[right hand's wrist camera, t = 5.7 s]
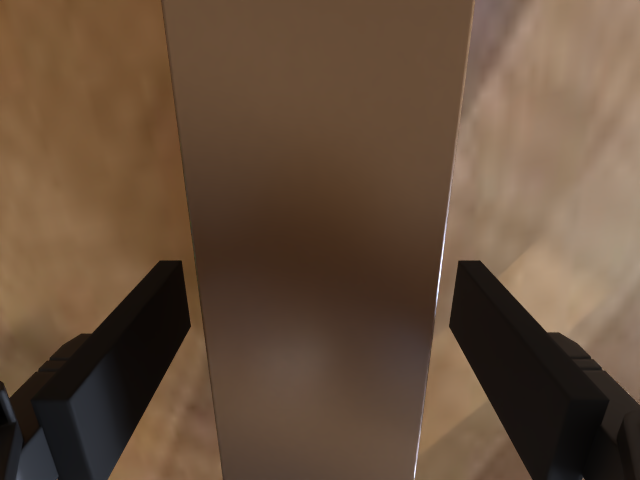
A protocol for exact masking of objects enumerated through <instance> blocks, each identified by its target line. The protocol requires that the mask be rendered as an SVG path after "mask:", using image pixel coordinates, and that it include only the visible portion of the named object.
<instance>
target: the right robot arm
mask: <svg viewBox="0 0 640 480" xmlns="http://www.w3.org/2000/svg"><path fill="white" fill-rule="evenodd" d="M190 327H191V324H190V317H189V310H188V303H187V296H186V289H185V282H184V275H183V268H182V261H159V262H158V263H157V264H156V265H155V267H154V268H153V269H152V270H151V271H150V272H149V273H148V274H147V275H146V276H145V277H144V278H143V279H142V280H141V282H140V283H139V284H138V285H137V286H136V287H135V288H134V289H133V290H132V291H131V292H130V293H129V294H128V296H127V297H126V298H125V299H124V300H123V301H122V302H121V303H120V304H119V305H118V306H117V307H116V308H115V309H114V311H113V312H112V313H111V314H110V315H109V316H108V317H107V318H106V319H105V320H104V321H103V322H102V323H101V325H100V326H99V327H98V328H97V329H96V330H95V331H94V332H93V333H92V334H80V335H79V336H77V337H75V338H74V339H72V340H70V341H69V342H67V343H65V344H64V345H62V346H61V347H60V348H59V349H58V350H57V351H56V352H55V353H54V354H53V355H52V356H51V357H50V360H49V361H46V362H45V363H44V364H43V365H42V366H41V367H40V368H39V371H38V372H35V373H34V374H33V375H32V376H31V377H30V378H29V379H28V380H27V381H26V382H25V383H24V384H23V385H22V386H21V387H20V388H19V389H18V390H17V391H16V392H15V393H14V394H13V395H12V396H11V397H10V398H9V397H8V394H7V391H6V389H5V386H4V383H3V382H1V381H0V480H57V478H58V480H108V478H109V476H110V474H111V472H112V470H113V469H114V467H115V465H116V463H117V461H118V459H119V458H120V456H121V454H122V452H123V450H124V448H125V447H126V445H127V443H128V441H129V439H130V437H131V436H132V434H133V432H134V430H135V428H136V426H137V424H138V423H139V421H140V419H141V417H142V415H143V413H144V412H145V410H146V408H147V406H148V404H149V402H150V401H151V399H152V397H153V395H154V393H155V391H156V390H157V388H158V386H159V384H160V382H161V380H162V379H163V377H164V375H165V373H166V371H167V369H168V367H169V366H170V364H171V362H172V360H173V358H174V356H175V355H176V353H177V351H178V349H179V347H180V345H181V344H182V342H183V340H184V338H185V336H186V334H187V333H188V331H189V329H190ZM449 327H450V329H451V331H452V333H453V334H454V336H455V338H456V340H457V342H458V344H459V345H460V347H461V349H462V351H463V353H464V355H465V356H466V358H467V360H468V362H469V364H470V366H471V367H472V369H473V371H474V373H475V375H476V377H477V379H478V380H479V382H480V384H481V386H482V388H483V390H484V391H485V393H486V395H487V397H488V399H489V401H490V402H491V404H492V406H493V408H494V410H495V412H496V413H497V415H498V417H499V419H500V421H501V423H502V425H503V426H504V428H505V430H506V432H507V434H508V436H509V437H510V439H511V441H512V443H513V445H514V447H515V448H516V450H517V452H518V454H519V456H520V458H521V459H522V461H523V463H524V465H525V467H526V469H527V470H528V472H529V474H530V476H531V478H532V480H582V478H584V479H585V480H640V405H639V404H638V403H637V402H636V401H635V400H634V399H633V398H632V397H631V396H630V395H629V394H628V393H627V392H626V391H625V390H624V389H623V388H622V387H621V386H620V385H619V384H618V383H617V382H616V381H615V380H614V379H613V378H612V377H611V376H610V375H609V374H608V373H607V372H606V371H602V367H601V366H599V365H598V364H597V363H596V362H595V361H594V360H593V359H591V357H590V356H589V355H588V354H587V353H586V352H585V351H584V350H583V349H582V348H581V347H580V346H579V345H578V344H577V343H575V342H574V341H572V340H570V339H569V338H567V337H566V336H564V335H562V334H561V333H547V332H546V331H545V330H544V329H543V328H542V327H541V326H540V325H539V323H538V322H537V321H536V320H535V319H534V318H533V317H532V316H531V315H530V314H529V313H528V312H527V311H526V309H525V308H524V307H523V306H522V305H521V304H520V303H519V302H518V301H517V300H516V299H515V298H514V297H513V296H512V294H511V293H510V292H509V291H508V290H507V289H506V288H505V287H504V286H503V285H502V284H501V283H500V282H499V280H498V279H497V278H496V277H495V276H494V275H493V274H492V273H491V272H490V271H489V270H488V269H487V268H486V267H485V265H484V264H483V263H482V262H481V261H458V268H457V275H456V282H455V289H454V296H453V303H452V310H451V317H450V324H449Z"/></svg>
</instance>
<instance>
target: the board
mask: <svg viewBox="0 0 640 480" xmlns="http://www.w3.org/2000/svg"><path fill="white" fill-rule="evenodd" d="M161 2H162V10H163V18H164V25H165V33H166V41H167V49H168V56H169V64H170V72H171V80H172V87H173V95H174V103H175V111H176V118H177V126H178V134H179V142H180V150H181V157H182V165H183V173H184V181H185V188H186V196H187V204H188V212H189V219H190V227H191V235H192V243H193V250H194V258H195V266H196V274H197V281H198V289H199V297H200V305H201V312H202V320H203V328H204V336H205V343H206V351H207V359H208V367H209V374H210V382H211V390H212V398H213V405H214V413H215V421H216V429H217V436H218V444H219V452H220V460H221V467H222V475H223V480H415V474H416V466H417V458H418V450H419V442H420V434H421V426H422V418H423V410H424V402H425V394H426V386H427V378H428V370H429V363H430V355H431V347H432V339H433V331H434V323H435V315H436V307H437V299H438V291H439V283H440V275H441V267H442V259H443V251H444V244H445V236H446V228H447V220H448V212H449V204H450V196H451V188H452V180H453V172H454V164H455V156H456V148H457V140H458V132H459V125H460V117H461V109H462V101H463V93H464V85H465V77H466V69H467V61H468V53H469V45H470V37H471V29H472V21H473V13H474V6H475V0H161Z"/></svg>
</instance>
